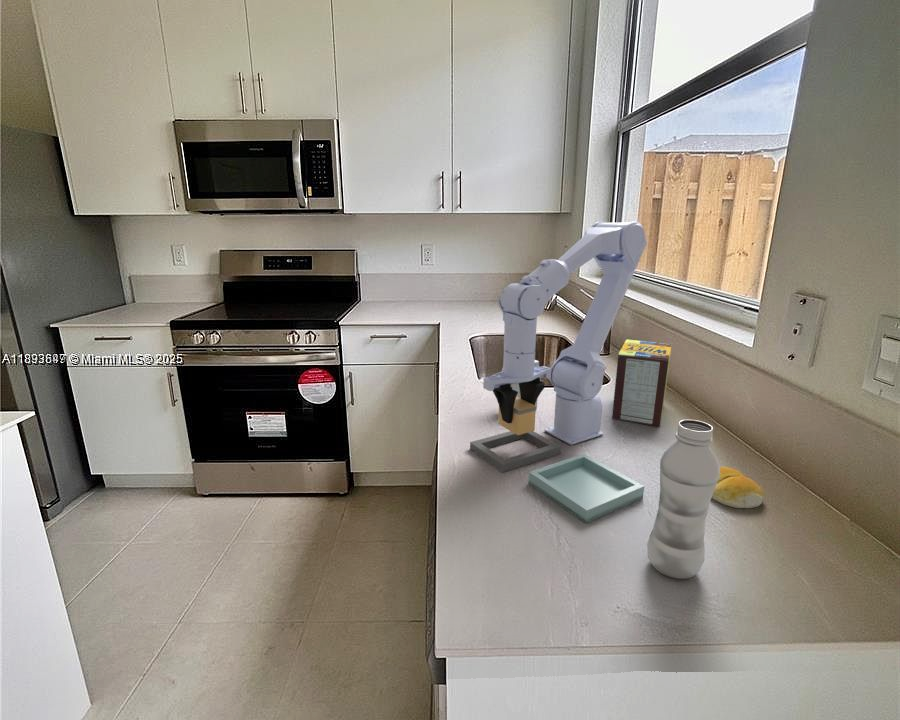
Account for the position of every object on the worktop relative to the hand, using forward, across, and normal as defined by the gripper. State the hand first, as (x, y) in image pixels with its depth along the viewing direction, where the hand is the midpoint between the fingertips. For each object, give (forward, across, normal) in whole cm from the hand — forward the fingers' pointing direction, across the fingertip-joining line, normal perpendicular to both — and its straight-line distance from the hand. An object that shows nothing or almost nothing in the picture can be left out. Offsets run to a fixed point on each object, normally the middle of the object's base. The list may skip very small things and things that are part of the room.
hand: (516, 418), depth 90 cm
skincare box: (+7, -15, -16) cm, 23 cm away
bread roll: (+7, -21, +30) cm, 37 cm away
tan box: (+2, 0, 0) cm, 2 cm away
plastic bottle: (+7, +3, +36) cm, 37 cm away
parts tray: (+7, -1, +17) cm, 18 cm away
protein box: (+7, -38, -1) cm, 39 cm away
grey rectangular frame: (+7, 0, 0) cm, 7 cm away
